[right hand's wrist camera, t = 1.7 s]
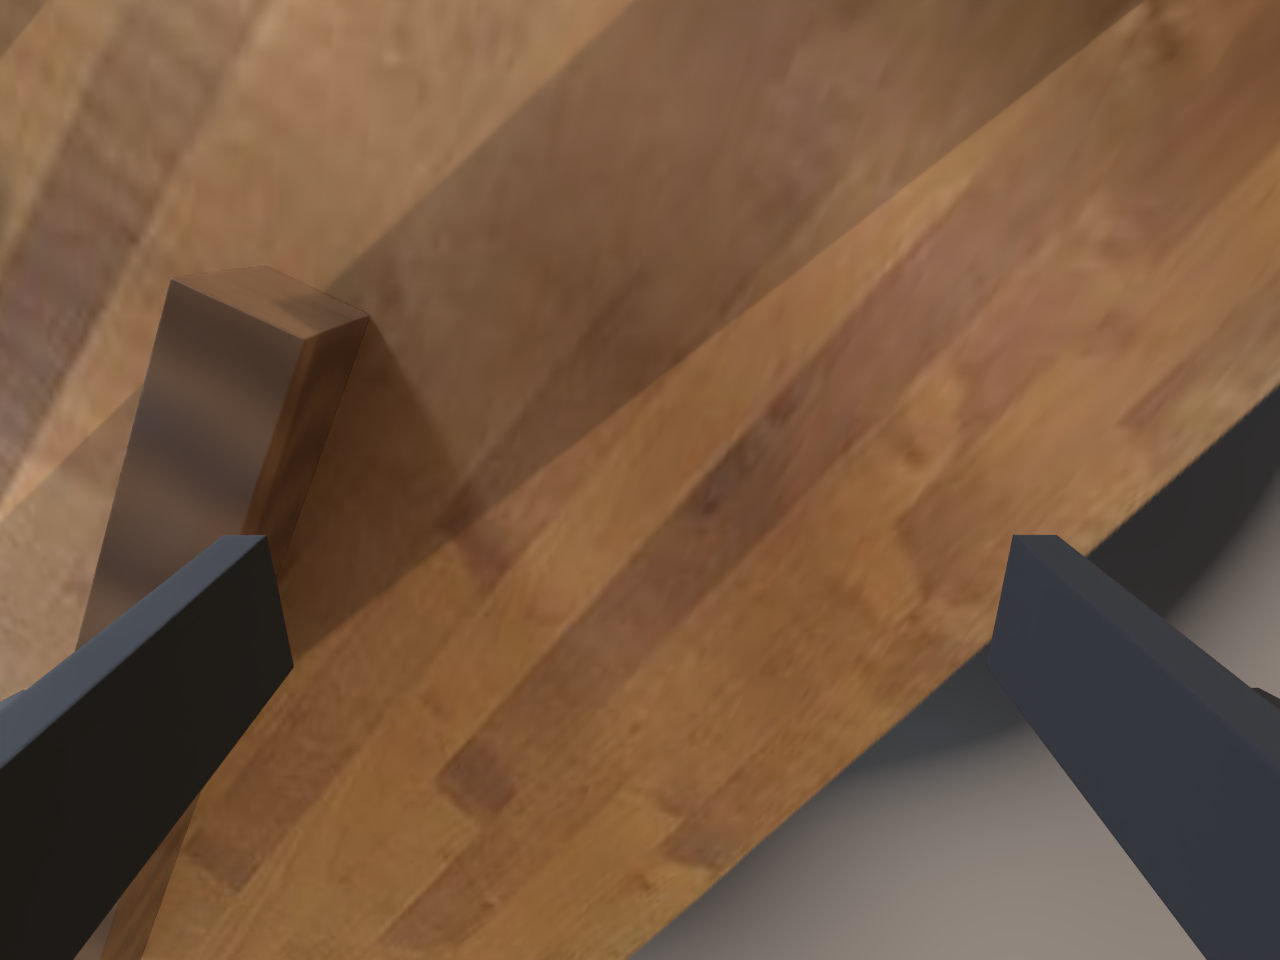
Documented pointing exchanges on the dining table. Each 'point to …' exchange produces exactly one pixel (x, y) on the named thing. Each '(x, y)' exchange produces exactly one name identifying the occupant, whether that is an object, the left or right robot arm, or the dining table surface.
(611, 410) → the dining table surface
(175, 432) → the beam
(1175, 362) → the dining table surface
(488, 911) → the dining table surface
